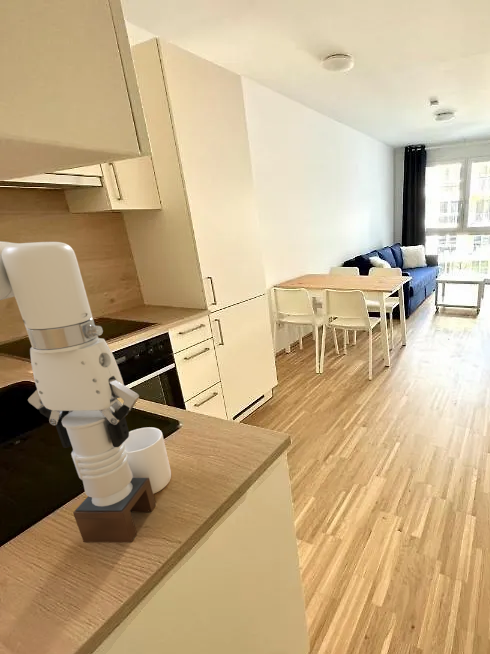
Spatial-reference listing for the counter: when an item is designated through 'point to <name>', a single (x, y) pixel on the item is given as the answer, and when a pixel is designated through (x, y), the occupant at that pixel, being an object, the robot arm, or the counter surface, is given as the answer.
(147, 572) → the counter surface
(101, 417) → the white ribbed cylinder
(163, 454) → the mug
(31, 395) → the robot arm
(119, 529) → the shelf
